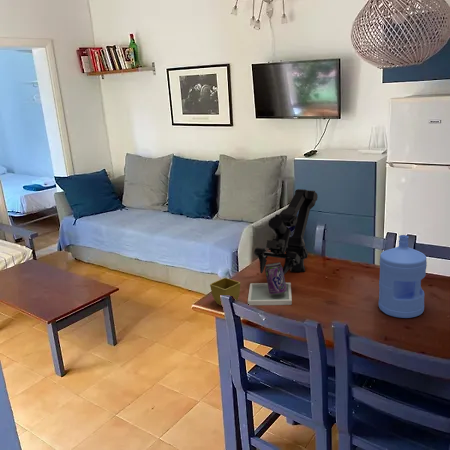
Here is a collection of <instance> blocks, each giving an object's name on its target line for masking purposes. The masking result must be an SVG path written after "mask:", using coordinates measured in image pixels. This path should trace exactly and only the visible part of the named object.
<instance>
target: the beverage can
mask: <svg viewBox="0 0 450 450" xmlns="http://www.w3.org/2000/svg"><path fill="white" fill-rule="evenodd" d="M281 263H282V262H272V263H266V265H265V267H264V273H265V277H266V283H268V289H269V293H270V294H272V295H278V294H283V293H285V291H287V288H286V283H287V282H286V278H285V275H284V273H283V267H284V266H282V264H281Z"/></svg>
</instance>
